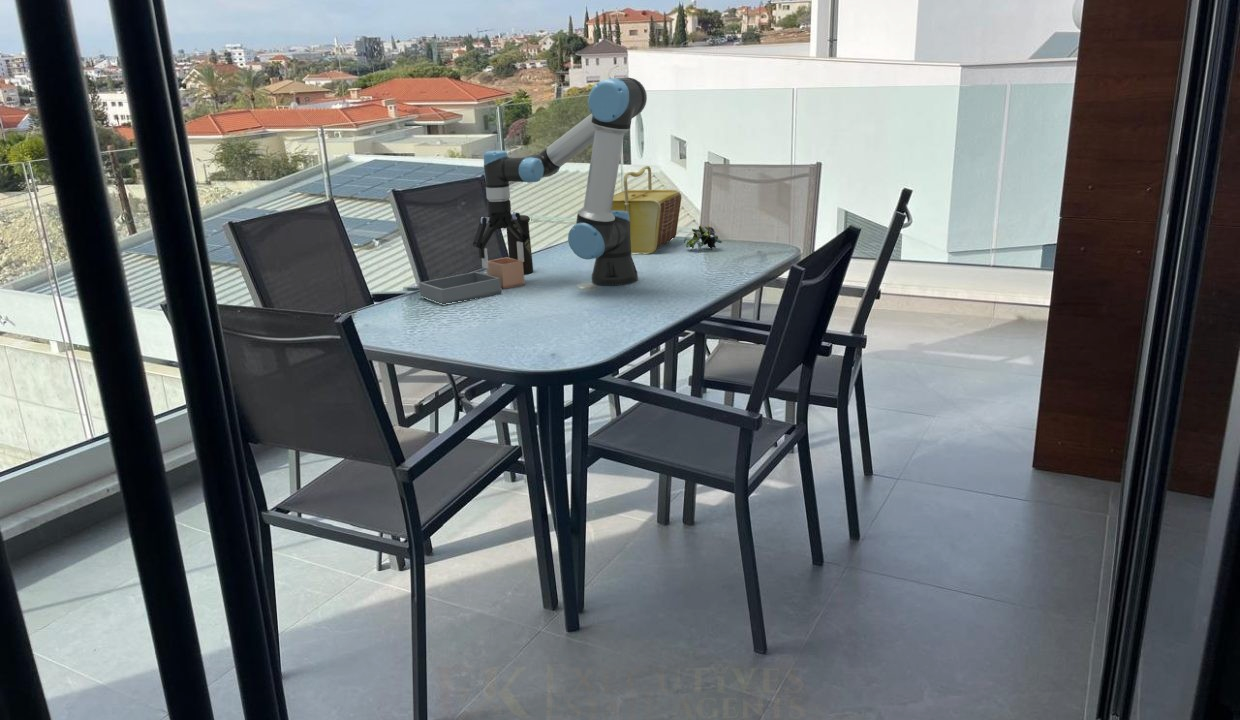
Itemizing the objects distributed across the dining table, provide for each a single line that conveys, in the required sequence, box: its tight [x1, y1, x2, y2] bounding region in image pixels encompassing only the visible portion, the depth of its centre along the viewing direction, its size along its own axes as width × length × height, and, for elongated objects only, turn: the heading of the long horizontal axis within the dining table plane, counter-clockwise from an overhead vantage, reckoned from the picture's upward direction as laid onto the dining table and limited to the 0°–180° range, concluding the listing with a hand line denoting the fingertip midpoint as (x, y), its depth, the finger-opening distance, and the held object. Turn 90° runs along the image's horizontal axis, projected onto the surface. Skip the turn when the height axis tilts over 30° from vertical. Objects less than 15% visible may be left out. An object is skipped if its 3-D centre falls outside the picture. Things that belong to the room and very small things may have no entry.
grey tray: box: [418, 271, 503, 304], centre depth 290 cm, size 16×21×5 cm
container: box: [506, 214, 534, 275], centre depth 317 cm, size 9×9×20 cm
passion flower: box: [683, 225, 723, 252], centre depth 339 cm, size 11×11×12 cm
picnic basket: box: [611, 165, 682, 254], centre depth 348 cm, size 29×26×30 cm
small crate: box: [486, 256, 526, 290], centre depth 301 cm, size 10×8×8 cm
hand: (503, 264), depth 301 cm, fingers open, 13 cm apart
